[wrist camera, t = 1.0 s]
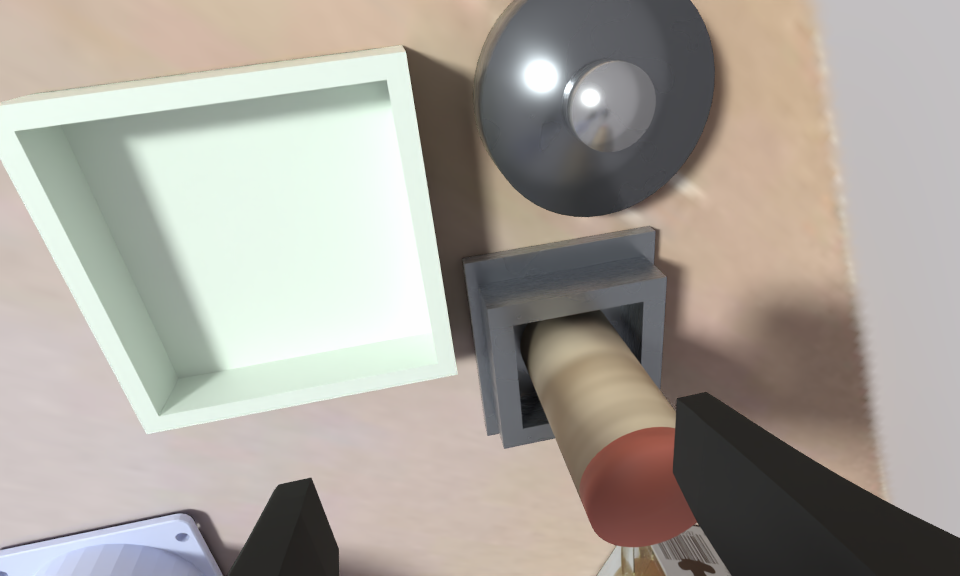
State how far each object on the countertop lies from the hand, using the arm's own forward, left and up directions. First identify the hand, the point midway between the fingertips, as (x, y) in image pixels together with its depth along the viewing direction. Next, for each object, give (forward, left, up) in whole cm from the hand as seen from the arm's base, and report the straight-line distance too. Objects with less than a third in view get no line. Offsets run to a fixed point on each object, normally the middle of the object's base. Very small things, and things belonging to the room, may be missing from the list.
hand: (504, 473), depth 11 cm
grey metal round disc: (+5, -5, -10) cm, 12 cm away
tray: (+2, +5, -10) cm, 11 cm away
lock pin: (-4, -4, -10) cm, 11 cm away
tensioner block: (-4, -4, -10) cm, 11 cm away
